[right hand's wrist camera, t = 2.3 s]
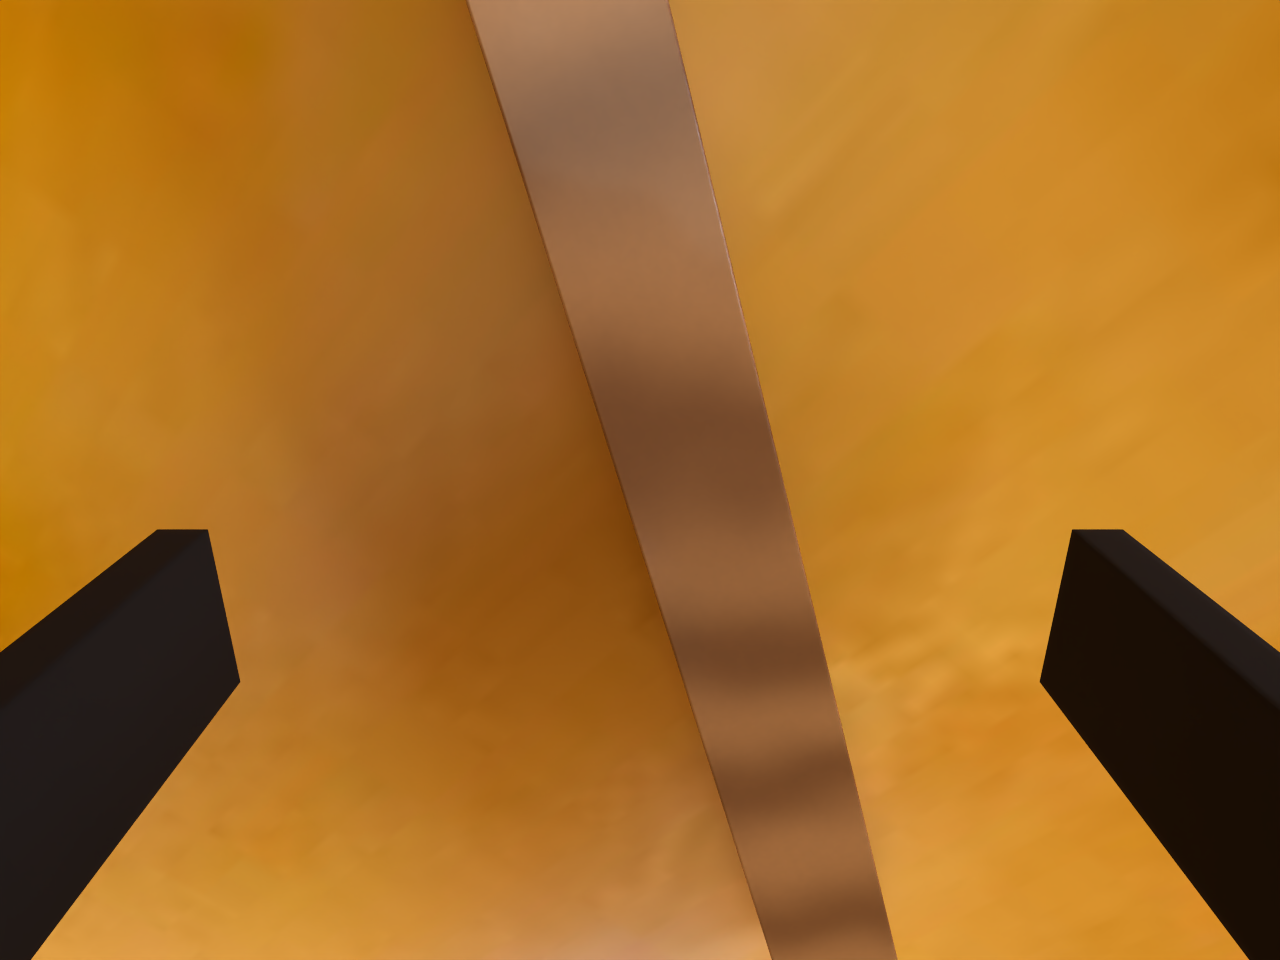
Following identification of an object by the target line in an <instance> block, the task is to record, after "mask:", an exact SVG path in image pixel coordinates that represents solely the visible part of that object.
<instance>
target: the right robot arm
mask: <svg viewBox="0 0 1280 960" xmlns="http://www.w3.org/2000/svg"><path fill="white" fill-rule="evenodd" d="M239 683H240V678H239V673H238V669H237V664H236V659H235V655H234V650H233V645H232V641H231V636H230V631H229V627H228V622H227V617H226V613H225V608H224V603H223V598H222V594H221V589H220V584H219V580H218V575H217V570H216V566H215V561H214V556H213V552H212V547H211V542H210V538H209V533H208V530H156V531H155V532H154V533H152V534H151V535H150V536H148V537H147V538H146V539H145V540H143V541H142V542H141V543H139V544H138V545H137V546H136V547H134V548H133V549H132V550H131V551H129V552H128V553H127V554H125V555H124V556H123V557H122V558H120V559H119V560H118V561H116V562H115V563H114V564H113V565H111V566H110V567H109V568H108V569H106V570H105V571H104V572H102V573H101V574H100V575H99V576H97V577H96V578H95V579H93V580H92V581H91V582H90V583H88V584H87V585H86V586H85V587H83V588H82V589H81V590H79V591H78V592H77V593H76V594H74V595H73V596H72V597H70V598H69V599H68V600H67V601H65V602H64V603H63V604H62V605H60V606H59V607H58V608H56V609H55V610H54V611H53V612H51V613H50V614H49V615H47V616H46V617H45V618H44V619H42V620H41V621H40V622H39V623H37V624H36V625H35V626H33V627H32V628H31V629H30V630H28V631H27V632H26V633H24V634H23V635H22V636H21V637H19V638H18V639H17V640H16V641H14V642H13V643H12V644H10V645H9V646H8V647H7V648H5V649H4V650H3V651H2V652H0V960H31V959H32V957H33V956H34V955H35V953H36V952H37V951H38V949H39V948H40V947H41V945H42V944H43V943H44V942H45V940H46V939H47V938H48V936H49V935H50V934H51V932H52V931H53V930H54V928H55V927H56V926H57V924H58V923H59V922H60V920H61V919H62V918H63V916H64V915H65V914H66V912H67V911H68V910H69V908H70V907H71V906H72V904H73V903H74V902H75V900H76V899H77V898H78V896H79V895H80V894H81V892H82V891H83V890H84V888H85V887H86V886H87V884H88V883H89V882H90V880H91V879H92V878H93V877H94V875H95V874H96V873H97V871H98V870H99V869H100V867H101V866H102V865H103V863H104V862H105V861H106V859H107V858H108V857H109V855H110V854H111V853H112V851H113V850H114V849H115V847H116V846H117V845H118V843H119V842H120V841H121V839H122V838H123V837H124V835H125V834H126V833H127V831H128V830H129V829H130V827H131V826H132V825H133V823H134V822H135V821H136V819H137V818H138V817H139V816H140V814H141V813H142V812H143V810H144V809H145V808H146V806H147V805H148V804H149V802H150V801H151V800H152V798H153V797H154V796H155V794H156V793H157V792H158V790H159V789H160V788H161V786H162V785H163V784H164V782H165V781H166V780H167V778H168V777H169V776H170V774H171V773H172V772H173V770H174V769H175V768H176V766H177V765H178V764H179V762H180V761H181V760H182V758H183V757H184V756H185V754H186V753H187V752H188V751H189V749H190V748H191V747H192V745H193V744H194V743H195V741H196V740H197V739H198V737H199V736H200V735H201V733H202V732H203V731H204V729H205V728H206V727H207V725H208V724H209V723H210V721H211V720H212V719H213V717H214V716H215V715H216V713H217V712H218V711H219V709H220V708H221V707H222V705H223V704H224V703H225V701H226V700H227V699H228V697H229V696H230V695H231V693H232V692H233V691H234V689H235V688H236V687H237V686H238V684H239ZM1040 683H1041V684H1042V686H1043V687H1044V688H1045V689H1046V691H1047V692H1048V693H1049V695H1050V696H1051V697H1052V699H1053V700H1054V701H1055V703H1056V704H1057V705H1058V707H1059V708H1060V709H1061V711H1062V712H1063V713H1064V715H1065V716H1066V717H1067V719H1068V720H1069V721H1070V723H1071V724H1072V725H1073V727H1074V728H1075V729H1076V731H1077V732H1078V733H1079V735H1080V736H1081V737H1082V739H1083V740H1084V741H1085V743H1086V744H1087V745H1088V747H1089V748H1090V749H1091V751H1092V752H1093V753H1094V754H1095V756H1096V757H1097V758H1098V760H1099V761H1100V762H1101V764H1102V765H1103V766H1104V768H1105V769H1106V770H1107V772H1108V773H1109V774H1110V776H1111V777H1112V778H1113V780H1114V781H1115V782H1116V784H1117V785H1118V786H1119V788H1120V789H1121V790H1122V792H1123V793H1124V794H1125V796H1126V797H1127V798H1128V800H1129V801H1130V802H1131V804H1132V805H1133V806H1134V808H1135V809H1136V810H1137V812H1138V813H1139V814H1140V816H1141V817H1142V818H1143V819H1144V821H1145V822H1146V823H1147V825H1148V826H1149V827H1150V829H1151V830H1152V831H1153V833H1154V834H1155V835H1156V837H1157V838H1158V839H1159V841H1160V842H1161V843H1162V845H1163V846H1164V847H1165V849H1166V850H1167V851H1168V853H1169V854H1170V855H1171V857H1172V858H1173V859H1174V861H1175V862H1176V863H1177V865H1178V866H1179V867H1180V869H1181V870H1182V871H1183V873H1184V874H1185V875H1186V877H1187V878H1188V879H1189V880H1190V882H1191V883H1192V884H1193V886H1194V887H1195V888H1196V890H1197V891H1198V892H1199V894H1200V895H1201V896H1202V898H1203V899H1204V900H1205V902H1206V903H1207V904H1208V906H1209V907H1210V908H1211V910H1212V911H1213V912H1214V914H1215V915H1216V916H1217V918H1218V919H1219V920H1220V922H1221V923H1222V924H1223V926H1224V927H1225V928H1226V930H1227V931H1228V932H1229V934H1230V935H1231V936H1232V938H1233V939H1234V940H1235V942H1236V943H1237V944H1238V945H1239V947H1240V948H1241V949H1242V951H1243V952H1244V953H1245V955H1246V956H1247V957H1248V959H1249V960H1280V652H1278V651H1277V650H1276V649H1275V648H1273V647H1272V646H1271V645H1270V644H1268V643H1267V642H1266V641H1264V640H1263V639H1262V638H1261V637H1259V636H1258V635H1257V634H1256V633H1254V632H1253V631H1252V630H1250V629H1249V628H1248V627H1247V626H1245V625H1244V624H1243V623H1241V622H1240V621H1239V620H1238V619H1236V618H1235V617H1234V616H1233V615H1231V614H1230V613H1229V612H1227V611H1226V610H1225V609H1224V608H1222V607H1221V606H1220V605H1218V604H1217V603H1216V602H1215V601H1213V600H1212V599H1211V598H1210V597H1208V596H1207V595H1206V594H1204V593H1203V592H1202V591H1201V590H1199V589H1198V588H1197V587H1195V586H1194V585H1193V584H1192V583H1190V582H1189V581H1188V580H1187V579H1185V578H1184V577H1183V576H1181V575H1180V574H1179V573H1178V572H1176V571H1175V570H1174V569H1172V568H1171V567H1170V566H1169V565H1167V564H1166V563H1165V562H1164V561H1162V560H1161V559H1160V558H1158V557H1157V556H1156V555H1155V554H1153V553H1152V552H1151V551H1149V550H1148V549H1147V548H1146V547H1144V546H1143V545H1142V544H1141V543H1139V542H1138V541H1137V540H1135V539H1134V538H1133V537H1132V536H1130V535H1129V534H1128V533H1126V532H1125V531H1124V530H1072V533H1071V538H1070V542H1069V547H1068V552H1067V556H1066V561H1065V566H1064V570H1063V575H1062V580H1061V584H1060V589H1059V594H1058V599H1057V603H1056V608H1055V613H1054V617H1053V622H1052V627H1051V631H1050V636H1049V641H1048V645H1047V650H1046V655H1045V659H1044V664H1043V669H1042V673H1041V678H1040Z"/></svg>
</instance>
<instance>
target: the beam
mask: <svg viewBox="0 0 1280 960" xmlns="http://www.w3.org/2000/svg"><path fill="white" fill-rule="evenodd" d="M466 3H467V6H468V9H469V12H470V16H471V19H472V22H473V25H474V28H475V31H476V34H477V38H478V41H479V44H480V47H481V50H482V53H483V56H484V59H485V63H486V66H487V69H488V72H489V75H490V78H491V81H492V85H493V88H494V91H495V94H496V97H497V100H498V103H499V106H500V110H501V113H502V116H503V119H504V122H505V125H506V128H507V132H508V135H509V138H510V141H511V144H512V147H513V150H514V153H515V157H516V160H517V163H518V166H519V169H520V172H521V175H522V178H523V182H524V185H525V188H526V191H527V194H528V197H529V200H530V204H531V207H532V210H533V213H534V216H535V219H536V222H537V225H538V229H539V232H540V235H541V238H542V241H543V244H544V247H545V251H546V254H547V257H548V260H549V263H550V266H551V269H552V272H553V276H554V279H555V282H556V285H557V288H558V291H559V294H560V298H561V301H562V304H563V307H564V310H565V313H566V316H567V319H568V323H569V326H570V329H571V332H572V335H573V338H574V341H575V345H576V348H577V351H578V354H579V357H580V360H581V363H582V366H583V370H584V373H585V376H586V379H587V382H588V385H589V388H590V391H591V395H592V398H593V401H594V404H595V407H596V410H597V413H598V417H599V420H600V423H601V426H602V429H603V432H604V435H605V438H606V442H607V445H608V448H609V451H610V454H611V457H612V460H613V464H614V467H615V470H616V473H617V476H618V479H619V482H620V485H621V489H622V492H623V495H624V498H625V501H626V504H627V507H628V511H629V514H630V517H631V520H632V523H633V526H634V529H635V532H636V536H637V539H638V542H639V545H640V548H641V551H642V554H643V558H644V561H645V564H646V567H647V570H648V573H649V576H650V579H651V583H652V586H653V589H654V592H655V595H656V598H657V601H658V605H659V608H660V611H661V614H662V617H663V620H664V623H665V626H666V630H667V633H668V636H669V639H670V642H671V645H672V648H673V651H674V655H675V658H676V661H677V664H678V667H679V670H680V673H681V677H682V680H683V683H684V686H685V689H686V692H687V695H688V698H689V702H690V705H691V708H692V711H693V714H694V717H695V720H696V724H697V727H698V730H699V733H700V736H701V739H702V742H703V745H704V749H705V752H706V755H707V758H708V761H709V764H710V767H711V771H712V774H713V777H714V780H715V783H716V786H717V789H718V792H719V796H720V799H721V802H722V805H723V808H724V811H725V814H726V818H727V821H728V824H729V827H730V830H731V833H732V836H733V839H734V843H735V846H736V849H737V852H738V855H739V858H740V861H741V864H742V868H743V871H744V874H745V877H746V880H747V883H748V886H749V890H750V893H751V896H752V899H753V902H754V905H755V908H756V911H757V915H758V918H759V921H760V924H761V927H762V930H763V933H764V937H765V940H766V943H767V946H768V949H769V952H770V955H771V958H772V960H897V955H896V951H895V947H894V943H893V939H892V934H891V930H890V926H889V922H888V918H887V914H886V909H885V905H884V901H883V897H882V893H881V888H880V884H879V880H878V876H877V872H876V867H875V863H874V859H873V855H872V851H871V847H870V842H869V838H868V834H867V830H866V826H865V821H864V817H863V813H862V809H861V805H860V801H859V796H858V792H857V788H856V784H855V780H854V775H853V771H852V767H851V763H850V759H849V754H848V750H847V746H846V742H845V738H844V734H843V729H842V725H841V721H840V717H839V713H838V708H837V704H836V700H835V696H834V692H833V687H832V683H831V679H830V675H829V671H828V667H827V662H826V658H825V654H824V650H823V646H822V641H821V637H820V633H819V629H818V625H817V621H816V616H815V612H814V608H813V604H812V600H811V595H810V591H809V587H808V583H807V579H806V574H805V570H804V566H803V562H802V558H801V554H800V549H799V545H798V541H797V537H796V533H795V528H794V524H793V520H792V516H791V512H790V508H789V503H788V499H787V495H786V491H785V487H784V482H783V478H782V474H781V470H780V466H779V461H778V457H777V453H776V449H775V445H774V441H773V436H772V432H771V428H770V424H769V420H768V415H767V411H766V407H765V403H764V399H763V395H762V390H761V386H760V382H759V378H758V374H757V369H756V365H755V361H754V357H753V353H752V348H751V344H750V340H749V336H748V332H747V328H746V323H745V319H744V315H743V311H742V307H741V302H740V298H739V294H738V290H737V286H736V281H735V277H734V273H733V269H732V265H731V261H730V256H729V252H728V248H727V244H726V240H725V235H724V231H723V227H722V223H721V219H720V215H719V210H718V206H717V202H716V198H715V194H714V189H713V185H712V181H711V177H710V173H709V168H708V164H707V160H706V156H705V152H704V148H703V143H702V139H701V135H700V131H699V127H698V122H697V118H696V114H695V110H694V106H693V102H692V97H691V93H690V89H689V85H688V81H687V76H686V72H685V68H684V64H683V60H682V55H681V51H680V47H679V43H678V39H677V35H676V30H675V26H674V22H673V18H672V14H671V9H670V5H669V1H668V0H466Z"/></svg>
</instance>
